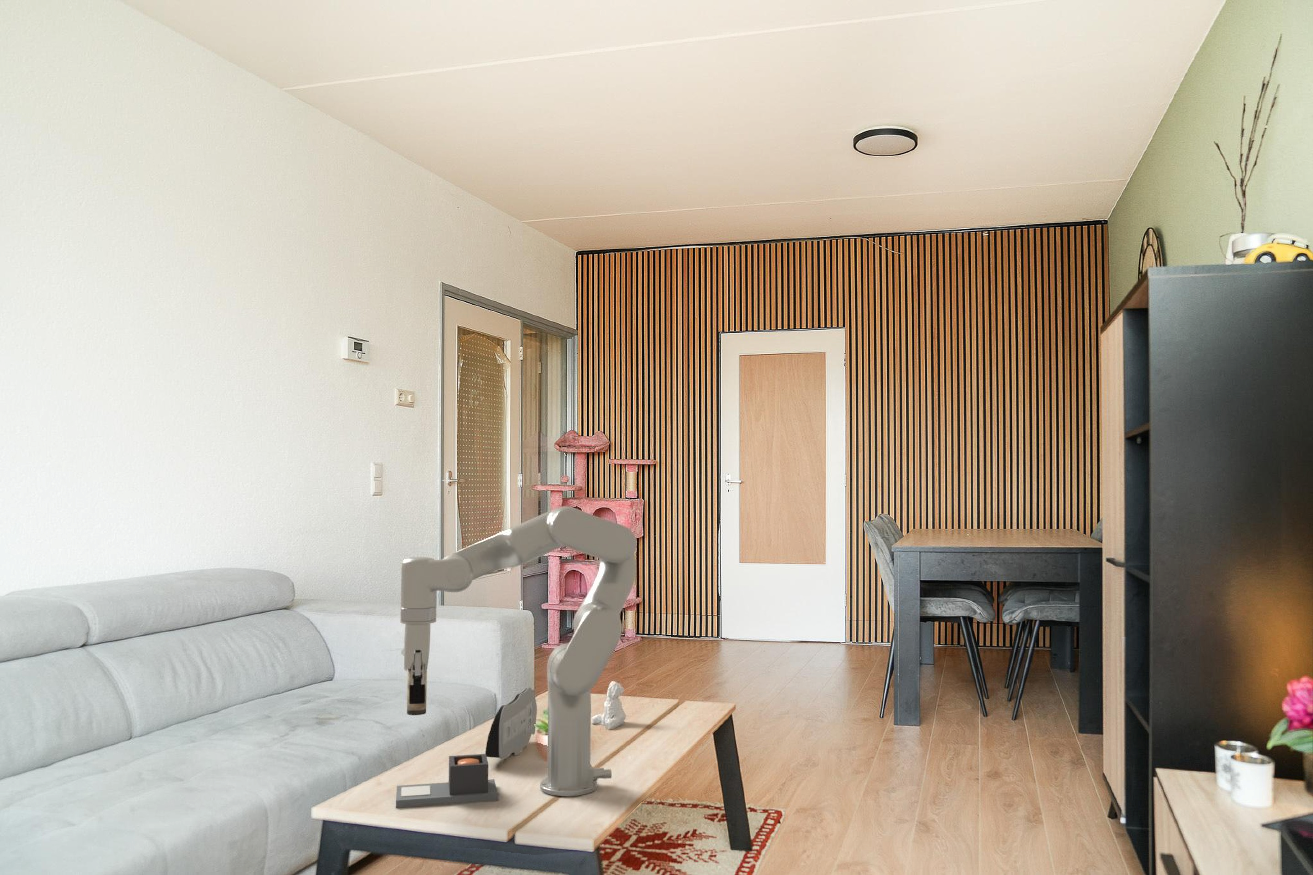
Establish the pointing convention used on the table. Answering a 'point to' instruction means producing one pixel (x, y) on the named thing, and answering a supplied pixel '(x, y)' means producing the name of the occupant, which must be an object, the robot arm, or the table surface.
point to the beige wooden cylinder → (416, 708)
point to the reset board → (452, 786)
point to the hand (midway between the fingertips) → (416, 700)
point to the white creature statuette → (611, 709)
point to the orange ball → (468, 761)
